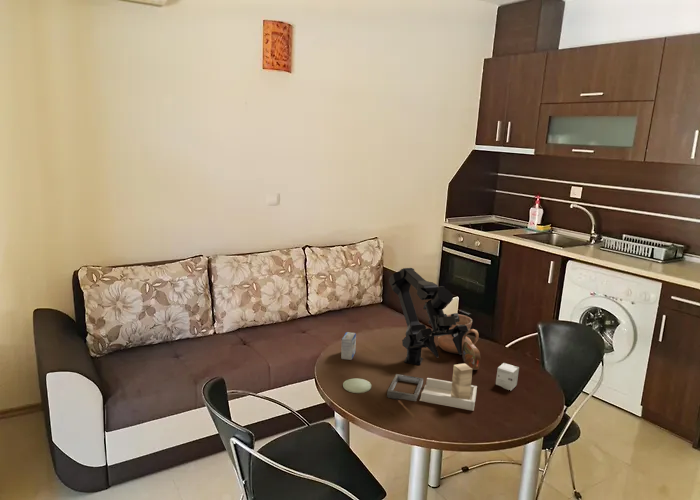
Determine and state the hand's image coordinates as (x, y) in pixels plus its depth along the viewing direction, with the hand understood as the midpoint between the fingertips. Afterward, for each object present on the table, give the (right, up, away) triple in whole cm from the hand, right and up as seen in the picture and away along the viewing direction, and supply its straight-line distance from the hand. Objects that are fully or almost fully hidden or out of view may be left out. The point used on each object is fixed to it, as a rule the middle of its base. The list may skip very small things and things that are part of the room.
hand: (449, 355), depth 179 cm
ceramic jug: (+10, -6, +39) cm, 41 cm away
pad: (-32, -12, +4) cm, 35 cm away
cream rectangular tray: (-1, -14, -3) cm, 15 cm away
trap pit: (-15, -13, +2) cm, 20 cm away
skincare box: (+23, -13, +9) cm, 28 cm away
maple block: (+3, -14, -4) cm, 15 cm away
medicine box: (-36, -6, +29) cm, 47 cm away
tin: (+13, -9, +25) cm, 30 cm away
